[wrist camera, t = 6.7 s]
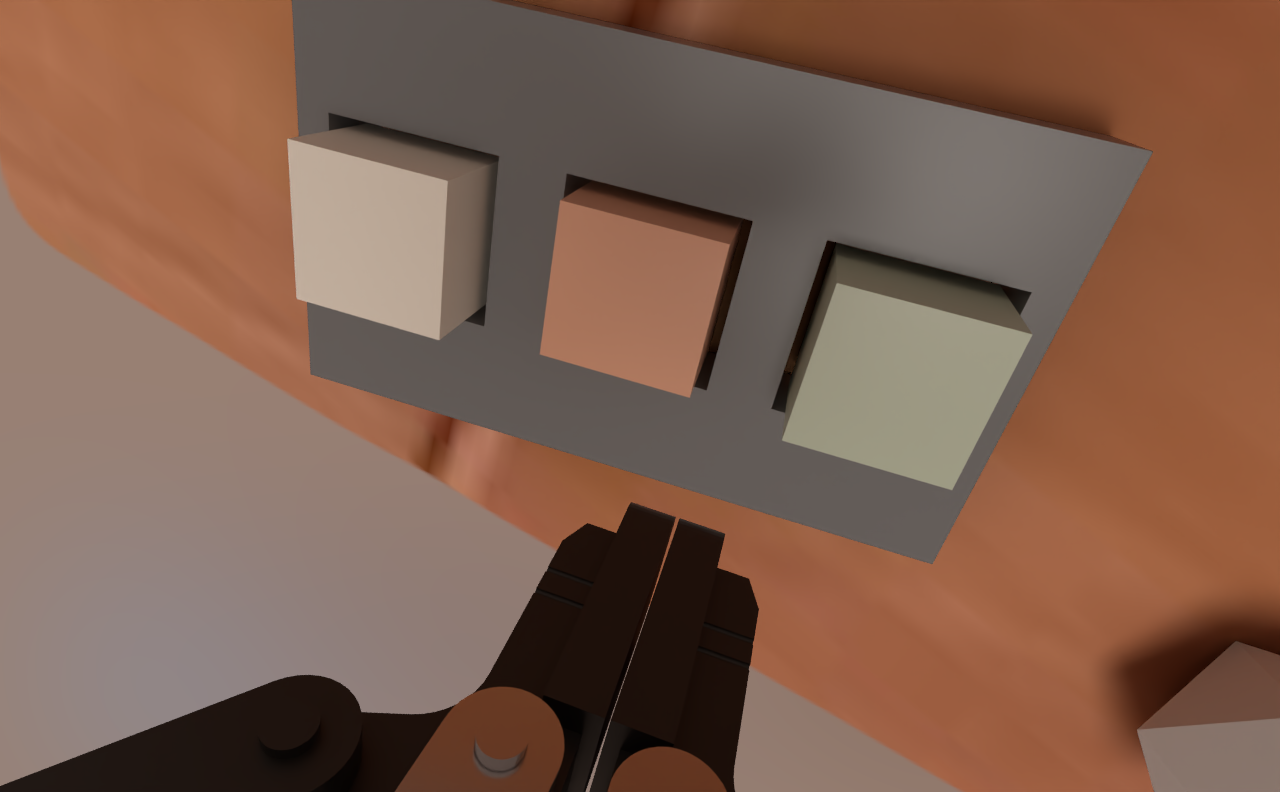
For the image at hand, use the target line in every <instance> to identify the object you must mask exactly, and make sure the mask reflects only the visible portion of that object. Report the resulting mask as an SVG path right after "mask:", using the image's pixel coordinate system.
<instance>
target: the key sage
mask: <svg viewBox="0 0 1280 792" xmlns="http://www.w3.org/2000/svg"><path fill="white" fill-rule="evenodd" d="M1032 335H1033V334H1032V333H1031V331H1030V330H1029V328H1028V327H1027V325H1026V324H1025V322H1024V321H1023V319H1022V318H1021V316H1020V315H1019V313H1018V312H1017V310H1016V309H1015V307H1014V306H1013V304H1012V303H1011V301H1010V300H1009V298H1008V297H1007V295H1006V294H1005V292H1004V291H1003V289H1002V288H1001V286H1000V285H997V284H993V283H989V282H985V281H981V280H977V279H974V278H970V277H966V276H962V275H958V274H954V273H950V272H946V271H942V270H938V269H934V268H931V267H927V266H923V265H919V264H915V263H911V262H907V261H903V260H899V259H895V258H891V257H888V256H884V255H880V254H876V253H872V252H868V251H864V250H860V249H856V248H852V247H848V246H845V245H841V244H837V243H836V245H835V248H834V251H833V254H832V257H831V260H830V263H829V266H828V269H827V272H826V275H825V278H824V281H823V284H822V287H821V290H820V292H819V295H818V298H817V301H816V304H815V307H814V310H813V313H812V316H811V319H810V322H809V325H808V328H807V331H806V334H805V337H804V340H803V343H802V346H801V348H800V351H799V354H798V357H797V360H796V363H795V366H794V369H793V372H792V375H791V378H790V381H789V387H788V395H787V403H786V411H785V419H784V427H783V435H782V441H785V442H789V443H792V444H796V445H799V446H802V447H806V448H809V449H813V450H816V451H820V452H823V453H826V454H830V455H833V456H837V457H840V458H844V459H847V460H850V461H854V462H857V463H861V464H864V465H868V466H871V467H874V468H878V469H881V470H885V471H888V472H891V473H895V474H898V475H902V476H905V477H909V478H912V479H915V480H919V481H922V482H926V483H929V484H933V485H936V486H939V487H943V488H946V489H950V490H952V489H953V487H954V486H955V484H956V482H957V480H958V478H959V476H960V474H961V472H962V470H963V468H964V466H965V464H966V462H967V460H968V458H969V457H970V455H971V453H972V451H973V449H974V447H975V445H976V443H977V441H978V439H979V437H980V435H981V433H982V431H983V429H984V428H985V426H986V424H987V422H988V420H989V418H990V416H991V414H992V412H993V410H994V408H995V406H996V404H997V402H998V400H999V399H1000V397H1001V395H1002V393H1003V391H1004V389H1005V387H1006V385H1007V383H1008V381H1009V379H1010V377H1011V375H1012V373H1013V371H1014V370H1015V368H1016V366H1017V364H1018V362H1019V360H1020V358H1021V356H1022V354H1023V352H1024V350H1025V348H1026V346H1027V344H1028V342H1029V341H1030V339H1031V337H1032Z"/></svg>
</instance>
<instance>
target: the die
mask: <svg viewBox="0 0 1280 792" xmlns="http://www.w3.org/2000/svg"><path fill="white" fill-rule="evenodd" d="M1137 732H1138V736H1139V739H1140V743H1141V747H1142V750H1143V754H1144V757H1145V761H1146V764H1147V768H1148V772H1149V775H1150V779H1151V782H1152V786H1153V789H1154V792H1280V655H1278V654H1274V653H1271V652H1268V651H1265V650H1262V649H1259V648H1256V647H1253V646H1250V645H1247V644H1244V643H1241V642H1238V641H1235V642H1234V643H1233V644H1232V645H1231V646H1230V647H1229V648H1227V649H1226V650H1225V651H1224V652H1223V653H1222V654H1221V655H1220V656H1219V657H1217V658H1216V659H1215V660H1214V661H1213V662H1212V663H1211V664H1210V665H1209V666H1207V667H1206V668H1205V669H1204V670H1203V671H1202V672H1201V673H1200V674H1198V675H1197V676H1196V677H1195V678H1194V679H1193V680H1192V681H1191V682H1190V683H1188V684H1187V685H1186V686H1185V687H1184V688H1183V689H1182V690H1181V691H1180V692H1178V693H1177V694H1176V695H1175V696H1174V697H1173V698H1172V699H1171V700H1169V701H1168V702H1167V703H1166V704H1165V705H1164V706H1163V707H1162V708H1161V709H1159V710H1158V711H1157V712H1156V713H1155V714H1154V715H1153V716H1152V717H1151V718H1149V719H1148V720H1147V721H1146V722H1145V723H1144V724H1143V725H1142V726H1140V727H1139V728H1138V729H1137Z"/></svg>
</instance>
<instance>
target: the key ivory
mask: <svg viewBox="0 0 1280 792" xmlns="http://www.w3.org/2000/svg"><path fill="white" fill-rule="evenodd" d="M287 141H288V158H289V176H290V193H291V210H292V227H293V244H294V262H295V279H296V296H297V299H299V300H303V301H306V302H310V303H313V304H316V305H320V306H323V307H327V308H330V309H334V310H337V311H340V312H344V313H347V314H351V315H354V316H357V317H361V318H364V319H368V320H371V321H375V322H378V323H381V324H385V325H388V326H392V327H395V328H399V329H402V330H405V331H409V332H412V333H416V334H419V335H423V336H426V337H429V338H433V339H436V340H440V339H442V338H443V337H444V336H446V335H447V334H448V333H449V332H451V331H452V330H453V329H455V328H456V327H457V326H458V325H460V324H461V323H462V322H464V321H465V320H466V319H467V318H469V317H470V316H471V315H473V314H474V313H475V312H476V311H478V310H479V309H480V308H481V307H483V306H484V305H485V304H486V301H487V289H488V278H489V266H490V255H491V243H492V232H493V220H494V209H495V197H496V186H497V174H498V163H499V157H497V156H493V155H489V154H485V153H481V152H477V151H473V150H469V149H465V148H461V147H458V146H454V145H450V144H446V143H442V142H438V141H434V140H430V139H426V138H422V137H418V136H415V135H411V134H407V133H403V132H399V131H395V130H391V129H387V128H383V127H379V126H375V125H372V124H368V123H367V124H361V125H356V126H351V127H346V128H341V129H335V130H330V131H325V132H320V133H315V134H310V135H304V136H299V137H294V138H289V139H287Z"/></svg>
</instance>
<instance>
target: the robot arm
mask: <svg viewBox="0 0 1280 792" xmlns="http://www.w3.org/2000/svg"><path fill="white" fill-rule="evenodd" d="M675 518H676V517H674V516H671V515H668V514H665V513H662V512H659V511H656V510H653V509H650V508H647V507H644V506H641V505H638V504H635V503H632V502H631V503H630V505H629V507H628V509H627V511H626V513H625V515H624V518H623V520H622V522H621V524H620V526H619V529H618V531H617V533H614V532H611V531H609V530H606V529H603V528H600V527H597V526H594V525H591V524H588V523H587V524H586V525H584V526H583V527H581V528H580V529H578V530H577V531H576V532H574V533H573V534H571V535H570V536H568V537H567V538H566V539H564V540H563V541H562V542H561V544H560V546H559V548H558V550H557V552H556V553H555V555H554V557H553V559H552V561H551V563H550V564H549V566H548V569H547V572H545V574H544V575H543V577H542V579H541V581H540V583H539V584H538V586H537V589H536V591H535V593H534V594H533V595H532V597H531V599H530V601H529V603H528V604H527V606H526V608H525V610H524V612H523V614H522V615H521V617H520V619H519V621H518V623H517V624H516V626H515V628H514V630H513V632H512V634H511V635H510V637H509V639H508V641H507V643H506V644H505V646H504V648H503V650H502V652H501V654H500V655H499V657H498V659H497V661H496V663H495V664H494V666H493V668H492V670H491V672H490V674H489V675H488V677H487V678H486V680H485V681H484V683H483V684H482V685H481V686H480V687H479V688H478V689H477V690H476V691H475V692H474V693H473V694H471V695H469V696H467V697H466V698H464V699H463V700H461V701H460V702H459V703H458V704H456V705H454V706H452V707H449V708H447V709H444V710H441V711H437V712H433V713H426V714H390V713H367V712H361V710H360V706H359V703H358V701H357V700H356V698H355V696H354V695H353V694H352V693H351V692H350V690H349V689H348V688H346V687H345V686H343V685H342V684H341V683H339V682H336V681H334V680H332V679H330V678H326V677H322V676H315V675H297V676H292V677H286V678H283V679H280V680H277V681H273V682H271V683H268V684H266V685H263V686H260V687H257V688H255V689H252V690H250V691H247V692H245V693H242V694H239V695H237V696H234V697H231V698H229V699H226V700H224V701H221V702H218V703H216V704H213V705H211V706H208V707H206V708H203V709H200V710H197V711H195V712H192V713H190V714H187V715H184V716H182V717H179V718H177V719H174V720H172V721H169V722H166V723H164V724H161V725H158V726H156V727H153V728H150V729H148V730H145V731H143V732H140V733H137V734H135V735H132V736H130V737H127V738H124V739H122V740H119V741H117V742H114V743H111V744H109V745H106V746H104V747H101V748H98V749H96V750H93V751H91V752H88V753H85V754H83V755H80V756H77V757H75V758H72V759H70V760H67V761H65V762H62V763H59V764H57V765H54V766H51V767H49V768H46V769H43V770H41V771H38V772H36V773H33V774H30V775H28V776H25V777H23V778H20V779H18V780H15V781H12V782H10V783H7V784H4V785H2V786H0V792H586V788H587V786H588V783H589V779H590V777H591V774H592V771H593V768H594V765H595V762H596V759H597V756H598V753H599V751H600V748H601V745H602V742H603V739H604V736H605V733H606V730H607V727H608V724H609V721H610V719H611V715H612V712H613V709H614V707H615V704H616V701H617V698H618V695H619V692H620V689H621V686H622V683H623V681H624V683H623V686H622V689H621V692H620V695H619V698H618V701H617V704H616V707H615V710H614V713H613V716H612V719H611V722H610V725H609V728H608V732H607V735H606V738H605V742H604V745H603V748H602V752H601V755H600V758H599V762H598V765H597V768H596V772H595V775H594V779H593V782H592V785H591V788H590V792H735V789H734V778H733V776H734V765H735V758H736V752H737V746H738V739H739V732H740V726H741V720H742V714H743V707H744V700H745V694H746V688H747V681H748V675H749V666H750V662H751V656H752V649H753V641H754V636H755V630H756V623H757V617H758V611H759V608H758V605H757V602H756V599H755V596H754V593H753V590H752V587H751V584H750V580H749V579H748V578H745V577H742V576H740V575H737V574H734V573H731V572H728V571H725V570H722V569H719V568H717V566H718V562H719V558H720V554H721V550H722V545H723V541H724V537H725V534H724V533H721V532H719V531H716V530H713V529H710V528H707V527H704V526H701V525H698V524H695V523H692V522H689V521H686V520H683V519H679V522H678V525H677V528H676V531H675V534H674V537H673V539H672V542H671V545H670V548H669V551H668V554H667V557H666V560H665V563H664V566H663V569H662V572H661V575H660V578H659V581H658V583H657V586H656V589H655V592H654V595H653V598H652V601H651V597H652V594H653V591H654V588H655V585H656V581H657V578H658V575H659V571H660V568H661V565H662V562H663V558H664V555H665V552H666V548H667V545H668V542H669V539H670V535H671V532H672V529H673V525H674V522H675ZM650 601H651V604H650ZM649 604H650V607H649ZM648 607H649V610H648ZM647 610H648V613H647ZM646 613H647V616H646ZM645 616H646V619H645ZM644 619H645V622H644ZM643 622H644V625H643ZM642 625H643V628H642ZM641 628H642V631H641ZM640 631H641V633H640ZM639 634H640V636H639ZM638 637H639V639H638ZM637 640H638V642H637ZM636 642H637V645H636ZM635 645H636V648H635ZM634 648H635V651H634ZM633 651H634V654H633ZM632 654H633V657H632ZM631 657H632V660H631ZM630 660H631V663H630ZM629 663H630V666H629ZM628 666H629V669H628V672H627V668H628ZM626 672H627V675H626ZM625 675H626V677H625ZM624 678H625V680H624Z"/></svg>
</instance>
